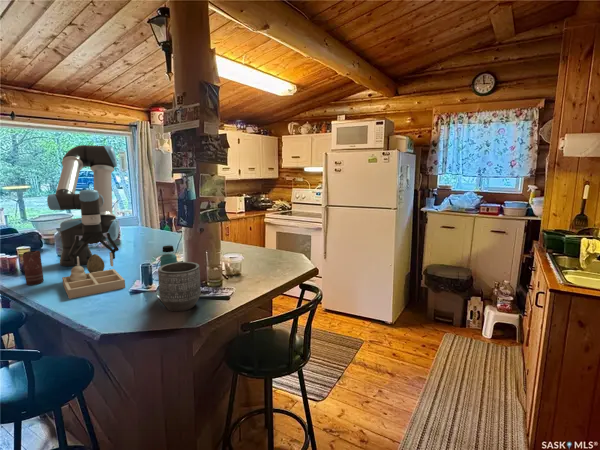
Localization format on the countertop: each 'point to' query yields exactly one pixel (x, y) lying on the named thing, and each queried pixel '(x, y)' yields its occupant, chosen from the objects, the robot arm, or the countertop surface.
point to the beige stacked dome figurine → (77, 274)
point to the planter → (179, 285)
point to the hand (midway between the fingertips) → (95, 268)
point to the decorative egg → (95, 264)
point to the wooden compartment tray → (93, 283)
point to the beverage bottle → (168, 256)
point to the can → (33, 267)
